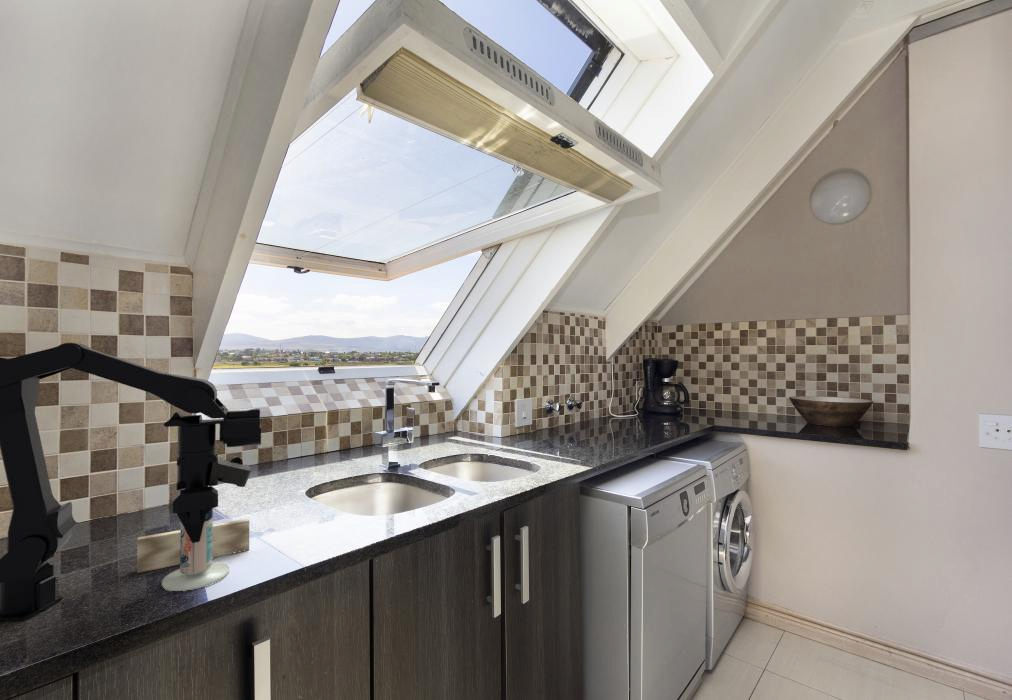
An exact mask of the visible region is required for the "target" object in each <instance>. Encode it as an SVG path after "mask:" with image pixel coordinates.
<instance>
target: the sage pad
mask: <svg viewBox="0 0 1012 700" xmlns="http://www.w3.org/2000/svg"><path fill="white" fill-rule="evenodd" d="M229 573H230V566H229V565H228V564H227V563H224V562H221V561H212V566H211V567H210V568H209V569H208V570H207V571H205V572H203V573H200V574H197V575H185V574H182V573H181V572H180V568H179V569H176V570H174V571H172V572H170V573H169V574H167V575H166V576H165V577H163V578H162V581H161V588H162V587H163V588H164V589H165V591H167V590H168V591H167V592H172V591H183V592H188V591H187V590H191V591H195V590H194V589H196V590H199V589H198V588H200V589H202V588H201V587H203V588H205V587H204V586H206V587H208V586H207V585H209V586H211V585H210V584H212V583H214V584H216V583H218V582H220V581H222V580H223V579H225V578H226V577H227V576H228V575H229ZM227 574H228V575H227ZM226 575H227V576H226ZM225 576H226V577H225ZM224 577H225V578H224ZM222 578H223V579H222ZM221 579H222V580H221ZM219 580H220V581H219ZM217 581H218V582H217ZM215 582H216V583H215ZM212 585H213V584H212ZM163 588H162V589H163ZM164 589H163V590H164Z"/></svg>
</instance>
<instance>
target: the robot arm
mask: <svg viewBox="0 0 1012 700" xmlns="http://www.w3.org/2000/svg"><path fill="white" fill-rule="evenodd" d="M71 369H74V370H78V371H80V372H84V373H87V374H90V375H93V376H97V377H99V378H103V379H106V380H108V381H111V382H114V383H119V384H122V385H125V386H128V387H130V388H135V389H137V390H141V391H143V392H146V393H149V394H152V395H154V396H156V397H157V398H159V399H161V400H162V401H164V402H166V403H168V404H170V405H172V406H174V407H175V408H177V409H180V410H182V411H183V412H185V413H188V415H183V414H182V413H180V412H179V411H175V412H174V413H173V415H172V416H171V418H169V419H168V420H167V421H165V422H164V423H163V427H165V428H172V427H177V459H176V467H177V468H176V469H177V471H176V479H177V480H176V491H178V492H177V493H175V495H174V496H173V499H172V514H176V515H177V517H178V519H179V521H180V524H181V523H182V525H183V526H184V528H185V530H186V532H187V534H188V536H189V538H190V540H191V542H192V543H196V542H199V541H200V538H201V534H202V530H203V526H204V521H205V517H206V514H207V512H208V511H210V510H211V509H212V508H213V509H215V508H218V507H219V491H218V490H217V489H216V488H215V486H219V482H220V483H225V484H231V485H235V486H236V487H240V488H245V487H246V485H247V482H248V480H249V477H250V475H251V472H252V468H251V467H250V466H249V465H248V464H244V463H243V462H244V461H243V458H242V457H241V456H237V455H233V456H232V457H230V459H229V460H227V459H226V460H220V459H219V457H218V452H216V450H217V449H216V444H217V441H216V439H217V438H216V437H217V435H216V434H217V433H216V432H217V425H219V443H222V444H223V445H226V448H237V447H250V446H251V447H253V446H261V445H262V424H261V409H260V408H250V409H247V410H246V409H242V410H229V409H228V407H226V405H224V404H223V402H221V400H220V399H219V398H218V390H217V388H216V386H215V385H214V384H213V382H211V381H209V380H207V379H205V378H204V379H203V378H196V377H192V376H186V375H181V374H180V375H179V374H172V373H167V372H162V371H159V370H156V369H153V368H150V367H147V366H145V365H142V364H138V363H135V362H133V361H130V360H127V359H124V358H120V357H117V356H115V355H111V354H108V353H107V352H102V351H100V350H97V349H95V348H91V347H89V346H88V345H86V344H85V343H78V342H64V343H61V344H59V345H57V346H54V347H51V348H47V349H43V350H39V351H35V352H30V353H26V354H22V355H19V356H14V357H8V356H7V357H2V356H1V357H0V454H1V458H2V463H3V468H4V471H5V477H6V481H7V485H8V490H9V493H10V499H11V500H10V501H11V503H12V504H11V505H12V512H11V518H10V521H9V525H8V529H7V543H6V544H7V545H6V546H7V550H6V551H7V552H6V553H5V554H4V555H3V556H2V557H1V558H0V621H25V620H27V619H28V618H29V619H30V618H31V617H33V616H34V615H36V614H38V613H40V612H41V611H44V610H45V609H47V608H49V607H51V606H52V605H54V604H56V603H58V602H60V601H62V600H63V599H64V595H56V580H57V579H56V577H57V576H56V575H55V573H54V572H55V571H54V569H55V566H54V564H51V563H50V562H49V561H50V560H52V559H53V558H54V557H55V556H56V553H57V552H59V550H60V549H62V548H63V546H64V545H66V543H68V541H69V540H70V539H71V538H72V535H73V530H74V527H75V526H77V525H78V522H77V521H76V520H75V519H74V517H73V504H72V502H71V501H69V502H66V503H64V504H60V503H59V501H58V500H57V499H56V498H55V497H54V494H53V491H52V487H51V483H50V482H51V481H50V477H49V473H48V469H47V463H46V459H45V454H44V450H43V445H42V440H41V435H40V431H39V426H38V421H37V418H36V407H37V402H38V399H39V394H40V381H41V380H43V379H46V378H48V377H49V378H50V377H52V376H55V375H57V374H60V373H63V372H65V371H68V370H71ZM189 413H190V414H193V415H189ZM200 413H201V414H200ZM202 414H203V415H204V416H206V417H207V418H209V419H203V416H202Z"/></svg>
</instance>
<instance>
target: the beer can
mask: <svg viewBox="0 0 1012 700" xmlns="http://www.w3.org/2000/svg"><path fill="white" fill-rule="evenodd" d="M213 511H214V508H212V509H211V510H210V511H208V512H207V514H206V517H205V521H204V526H203V530H202V534H201V538H200V541H199V542H196V543H192V542H191V540H190V538H189V536H188V534H187V532H186V530H185V528H184V526H183V525H182V523H181V522H180V530H181V537H180V564H179V569H180V572H181V573H182V574H185V575H197V574H200V573H203V572H205V571H207V570H208V569H209V568H210V567H211V566H212V562H213V558H212V525H213V520H214V519H213V515H214V514H213Z"/></svg>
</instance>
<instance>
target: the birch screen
mask: <svg viewBox="0 0 1012 700" xmlns="http://www.w3.org/2000/svg"><path fill="white" fill-rule="evenodd" d="M180 537H181V529H179V530H178V529H177V530H173V531H169V532H161V533H156V534H151V535H150V534H148V535H144V536H139V537H137V541H136V542H137V546H136V547H137V548H136V550H137V551H136V557H137V558H136V560H137V562H136V563H137V564H136V567H137V568H136V569H137V570H136V571H137V574H139V573H144V572H148V571H153V570H159V569H164V568H168V567H172V566H178V565H179V566H180ZM244 550H248V551H250V518H244V519H238V520H237V519H236V520H233V521H226V522H221V523H214V524H213V523H212V557H213V558H216V557H217V556H218V557H222V556H221V555H223V556H227V555H226V554H228V555H231V554H230V553H233V554H235V553H234V552H238V553H240V552H239V551H243V552H245V551H244ZM218 557H217V558H218Z"/></svg>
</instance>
